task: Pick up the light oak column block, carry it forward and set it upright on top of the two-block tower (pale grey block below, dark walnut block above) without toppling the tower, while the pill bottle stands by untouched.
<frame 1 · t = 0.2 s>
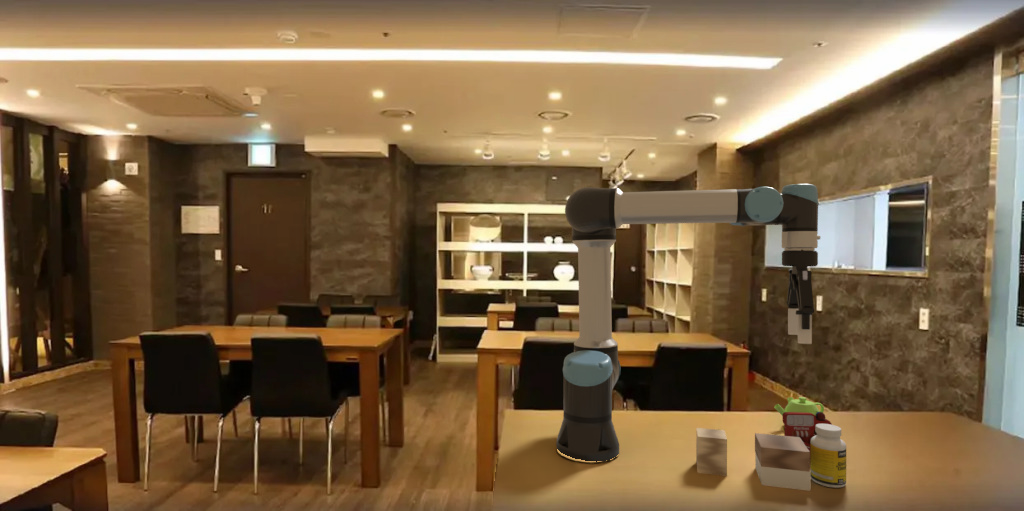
hand: (799, 338, 125), 28 cm above the table, fingers open, 13 cm apart
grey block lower: (781, 479, 112), on the table, touching walnut block upper
oak block: (711, 469, 117), on the table
toy fire truck: (810, 456, 124), on the table
pill bottle: (828, 483, 110), on the table
walnut block upper: (781, 460, 112), point 4 cm above the table, touching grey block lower
teapot: (799, 429, 144), on the table
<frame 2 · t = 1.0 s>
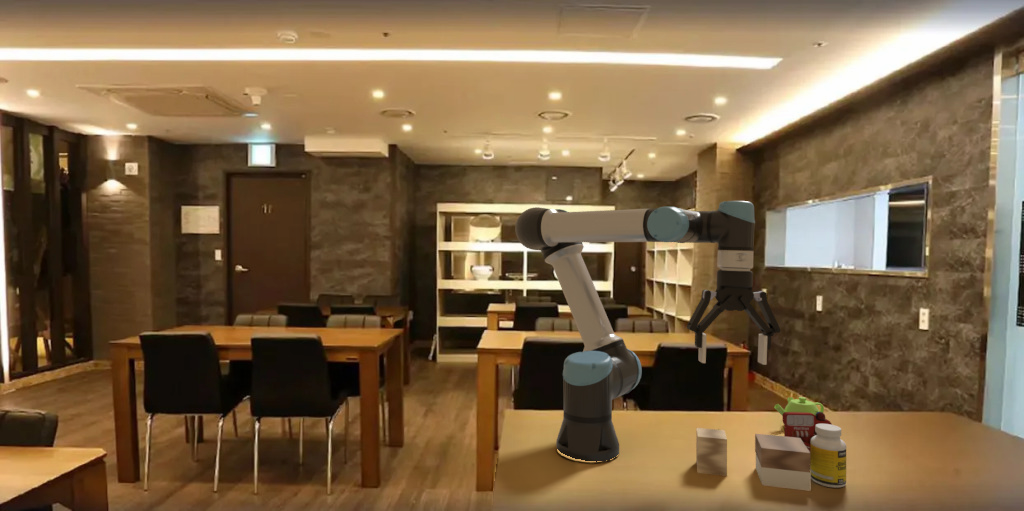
hand: (732, 362, 119), 23 cm above the table, fingers open, 13 cm apart
nothing on the table moved.
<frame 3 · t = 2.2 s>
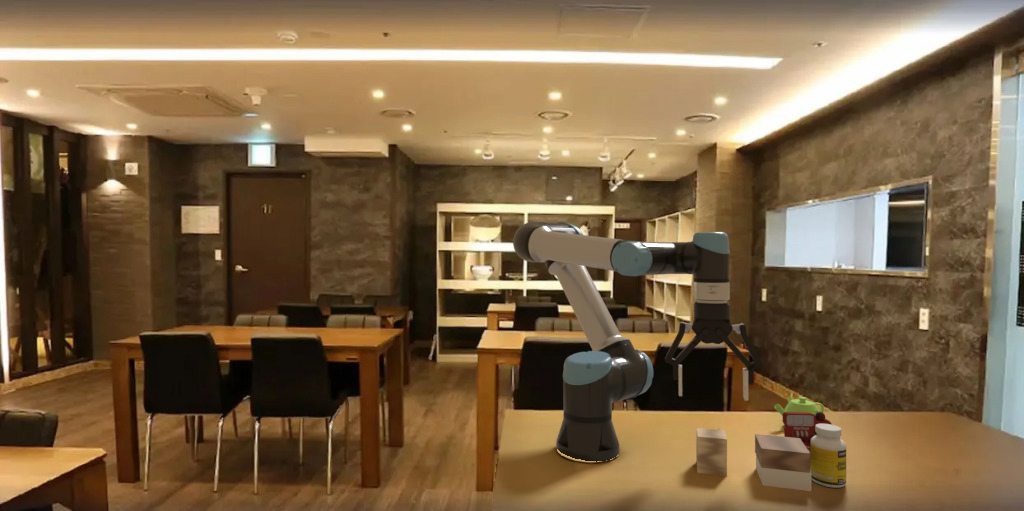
hand: (712, 397, 116), 16 cm above the table, fingers open, 13 cm apart
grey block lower: (782, 480, 111), on the table
walnut block upper: (781, 461, 112), point 4 cm above the table
everything else where it was.
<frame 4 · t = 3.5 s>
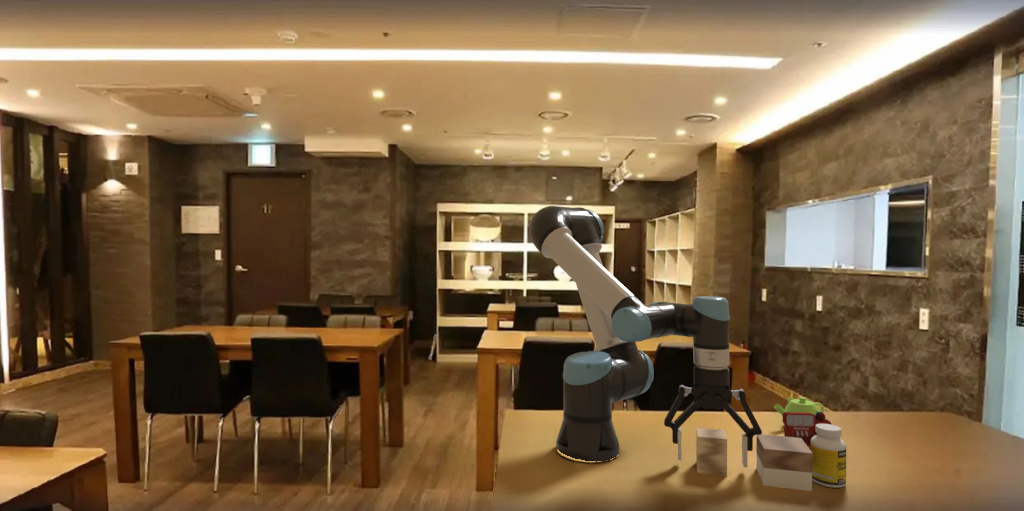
hand: (711, 461, 117), 2 cm above the table, fingers open, 13 cm apart
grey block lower: (782, 480, 111), on the table, touching walnut block upper
walnut block upper: (783, 461, 111), point 4 cm above the table, touching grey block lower
everything else where it was.
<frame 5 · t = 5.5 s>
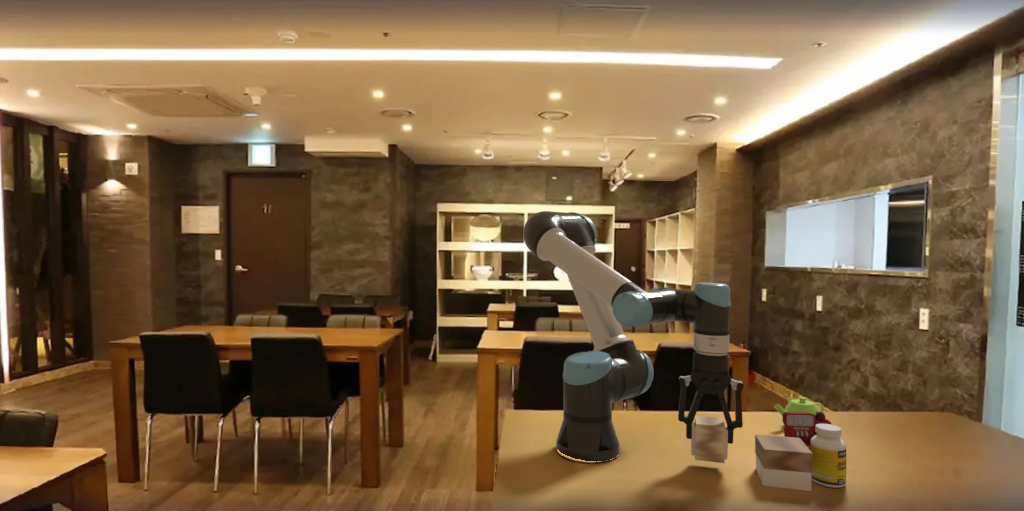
hand: (708, 454, 117), 3 cm above the table, fingers closed on oak block, 6 cm apart
oak block: (708, 456, 117), point 3 cm above the table, touching gripper
everything else where it was.
when the fingers open (9 cm above the table, at t = 10.7 s): oak block stays where it is, point 8 cm above the table.
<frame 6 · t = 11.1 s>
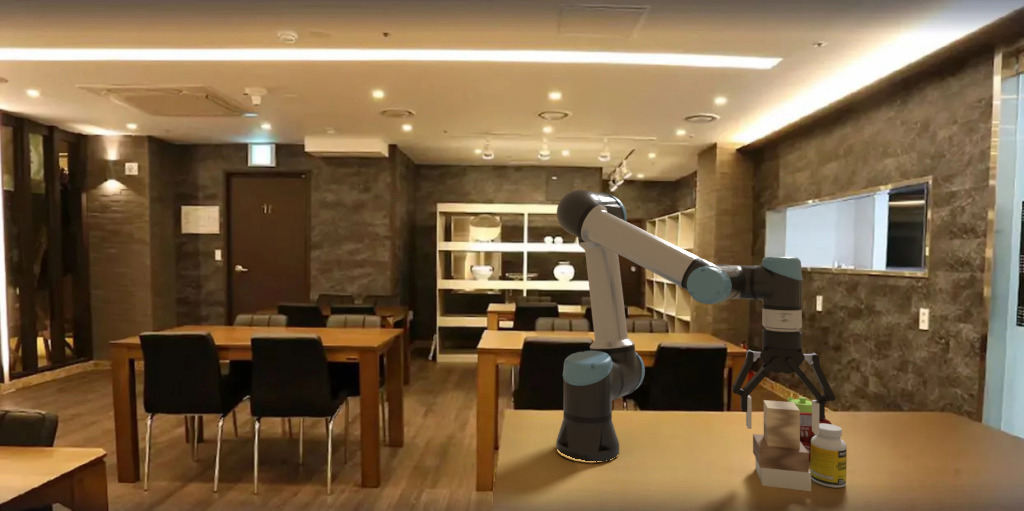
hand: (781, 429, 112), 10 cm above the table, fingers open, 12 cm apart
oak block: (781, 442, 112), point 8 cm above the table
pill bottle: (828, 483, 110), on the table, touching gripper
everything else where it was.
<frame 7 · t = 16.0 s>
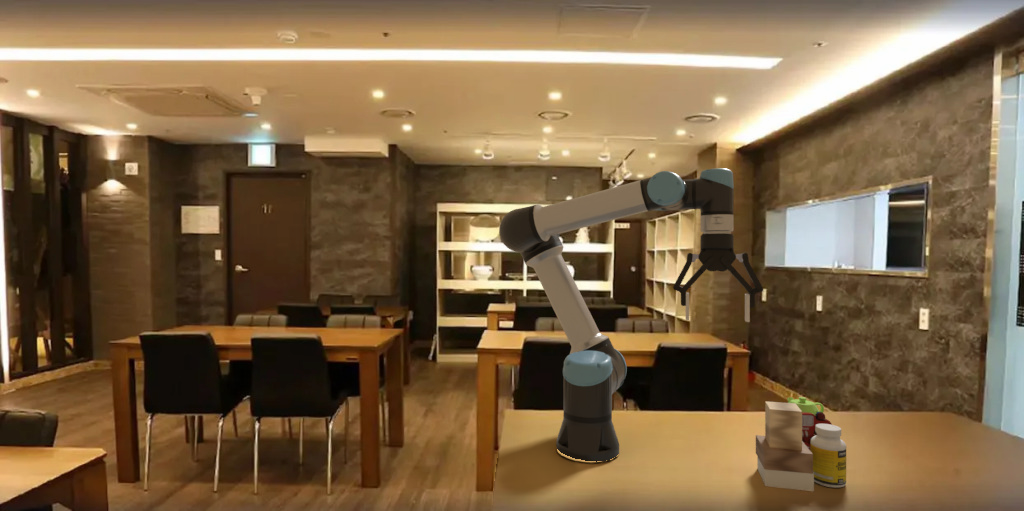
hand: (716, 320, 127), 32 cm above the table, fingers open, 13 cm apart
oak block: (783, 443, 111), point 8 cm above the table, touching walnut block upper
pill bottle: (828, 483, 110), on the table
walnut block upper: (782, 462, 111), point 4 cm above the table, touching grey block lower, oak block
everything else where it was.
at the end: oak block 0.2 cm from the walnut block upper (horizontally); oak block point 7.6 cm above the table; oak block tilted 0° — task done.
